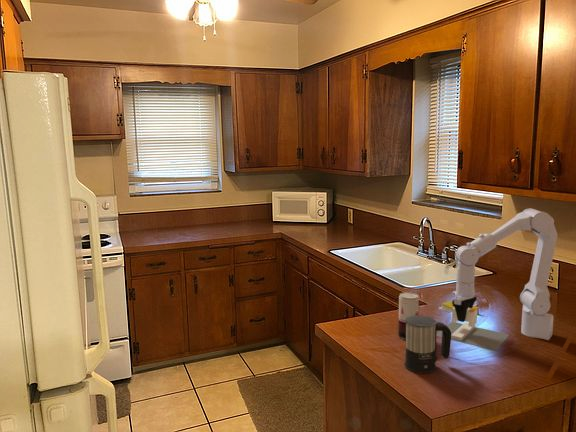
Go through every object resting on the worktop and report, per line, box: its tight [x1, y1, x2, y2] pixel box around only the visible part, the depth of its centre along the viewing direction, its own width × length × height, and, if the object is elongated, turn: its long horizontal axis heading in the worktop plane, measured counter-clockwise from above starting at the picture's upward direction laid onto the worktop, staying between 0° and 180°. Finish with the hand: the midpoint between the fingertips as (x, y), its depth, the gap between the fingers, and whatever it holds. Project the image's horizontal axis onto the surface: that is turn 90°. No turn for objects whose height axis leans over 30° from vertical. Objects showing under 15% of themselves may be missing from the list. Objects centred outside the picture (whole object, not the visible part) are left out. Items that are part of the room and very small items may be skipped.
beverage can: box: [397, 291, 420, 340], centre depth 163 cm, size 6×6×15 cm
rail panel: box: [436, 321, 510, 352], centre depth 161 cm, size 20×16×2 cm
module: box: [451, 307, 478, 327], centre depth 162 cm, size 7×4×5 cm, turn 51°
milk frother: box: [403, 314, 452, 374], centre depth 145 cm, size 14×16×15 cm
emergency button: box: [437, 300, 483, 317], centre depth 186 cm, size 9×4×15 cm
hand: (463, 318), depth 162 cm, fingers closed on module, 4 cm apart
